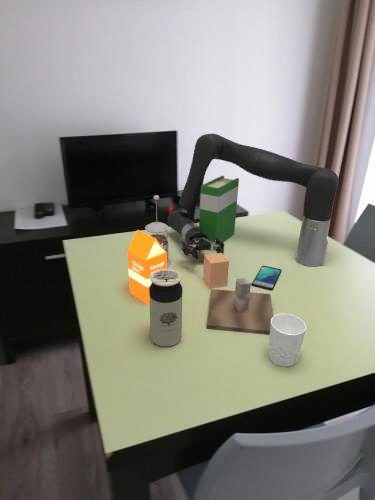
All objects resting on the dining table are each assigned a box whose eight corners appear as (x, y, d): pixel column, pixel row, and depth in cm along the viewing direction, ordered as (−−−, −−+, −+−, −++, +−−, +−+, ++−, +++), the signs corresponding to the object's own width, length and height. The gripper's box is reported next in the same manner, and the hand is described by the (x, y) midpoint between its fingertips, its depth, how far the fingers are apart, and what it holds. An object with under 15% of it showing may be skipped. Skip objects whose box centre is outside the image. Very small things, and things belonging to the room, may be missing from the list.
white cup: (262, 346, 90) (266, 313, 86) (292, 345, 91) (298, 312, 87) (271, 369, 83) (276, 335, 79) (304, 368, 84) (311, 334, 80)
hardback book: (218, 230, 157) (222, 175, 147) (234, 234, 154) (239, 178, 143) (198, 244, 144) (200, 185, 133) (215, 249, 140) (218, 188, 130)
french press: (138, 266, 126) (135, 197, 115) (153, 252, 136) (152, 188, 125) (164, 272, 123) (163, 201, 112) (177, 257, 133) (178, 191, 122)
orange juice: (149, 283, 116) (147, 226, 107) (167, 295, 111) (167, 235, 102) (129, 292, 111) (125, 233, 102) (147, 305, 106) (145, 242, 97)
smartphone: (250, 284, 116) (262, 264, 129) (250, 286, 117) (262, 266, 129) (272, 290, 114) (282, 269, 126) (272, 292, 114) (282, 271, 126)
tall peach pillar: (220, 276, 121) (221, 252, 117) (227, 286, 116) (229, 261, 112) (203, 279, 119) (204, 254, 115) (209, 288, 114) (210, 263, 110)
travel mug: (152, 326, 97) (150, 267, 89) (182, 327, 96) (183, 268, 89) (148, 346, 89) (146, 284, 82) (180, 348, 89) (181, 285, 81)
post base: (269, 297, 111) (274, 268, 106) (275, 335, 94) (280, 302, 90) (211, 292, 112) (212, 263, 108) (206, 328, 96) (208, 296, 92)
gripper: (175, 228, 129) (190, 248, 116) (212, 225, 134) (230, 243, 120) (175, 247, 133) (189, 268, 119) (211, 243, 137) (229, 263, 123)
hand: (210, 255), depth 119 cm, fingers open, 8 cm apart
